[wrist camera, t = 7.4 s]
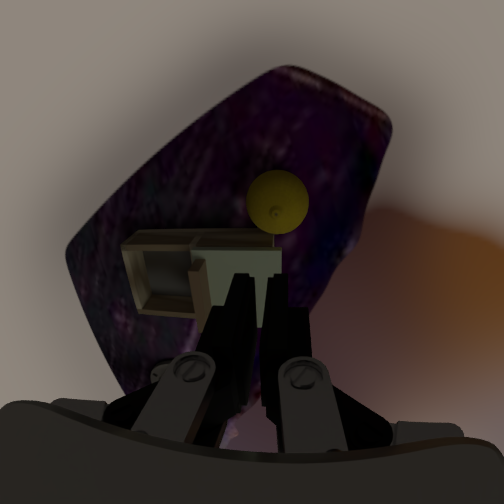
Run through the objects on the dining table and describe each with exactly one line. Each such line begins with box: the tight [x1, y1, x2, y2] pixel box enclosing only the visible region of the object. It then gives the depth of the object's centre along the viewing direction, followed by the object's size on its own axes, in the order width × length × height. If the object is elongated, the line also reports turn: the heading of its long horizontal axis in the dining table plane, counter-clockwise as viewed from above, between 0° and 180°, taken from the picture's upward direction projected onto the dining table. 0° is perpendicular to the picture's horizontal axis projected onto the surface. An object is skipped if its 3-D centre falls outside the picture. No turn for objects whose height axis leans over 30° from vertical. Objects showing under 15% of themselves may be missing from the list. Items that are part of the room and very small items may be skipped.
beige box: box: [120, 228, 274, 318], centre depth 31 cm, size 9×16×4 cm, turn 92°
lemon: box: [246, 170, 309, 234], centre depth 25 cm, size 6×6×8 cm
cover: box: [188, 247, 282, 333], centre depth 27 cm, size 9×8×3 cm
